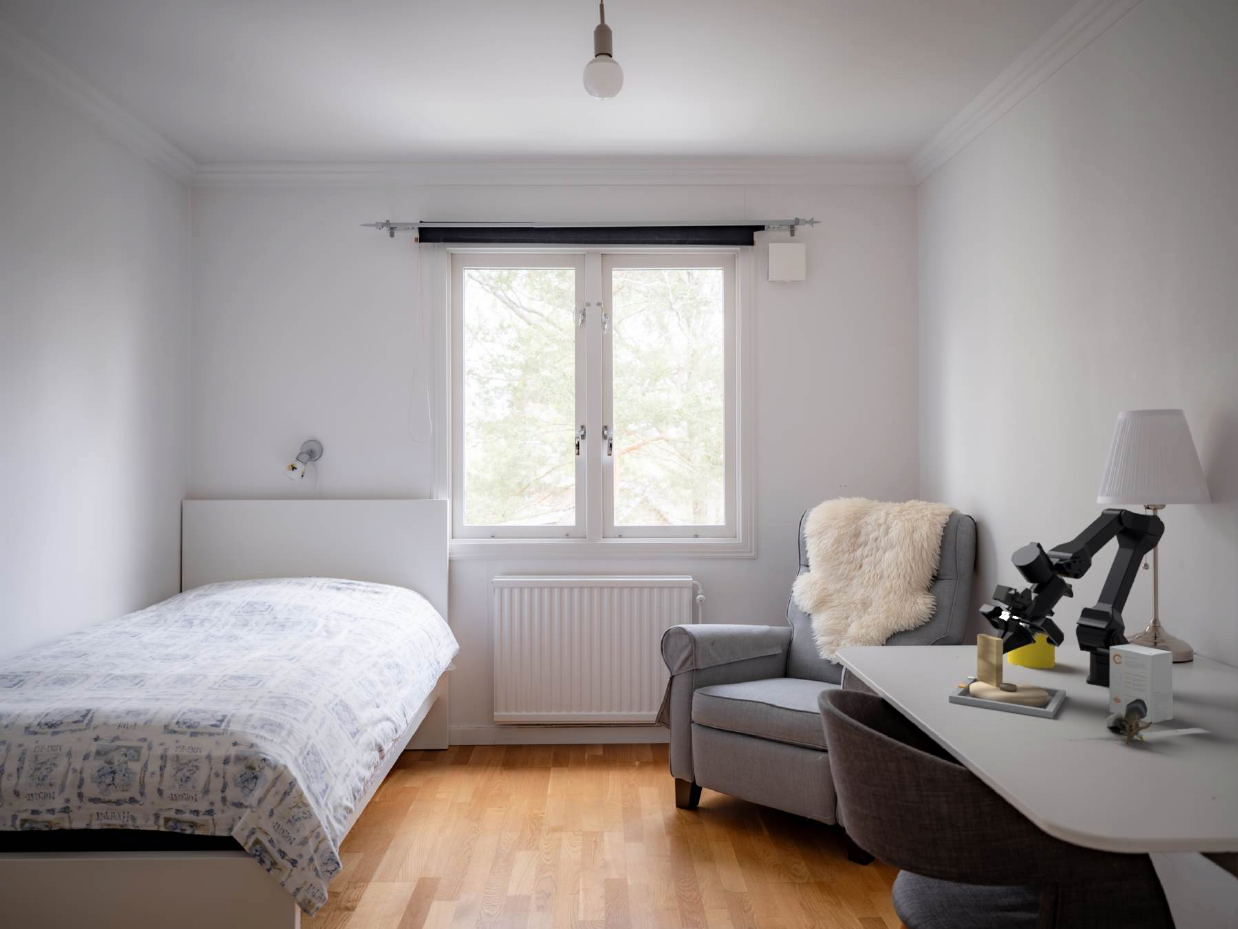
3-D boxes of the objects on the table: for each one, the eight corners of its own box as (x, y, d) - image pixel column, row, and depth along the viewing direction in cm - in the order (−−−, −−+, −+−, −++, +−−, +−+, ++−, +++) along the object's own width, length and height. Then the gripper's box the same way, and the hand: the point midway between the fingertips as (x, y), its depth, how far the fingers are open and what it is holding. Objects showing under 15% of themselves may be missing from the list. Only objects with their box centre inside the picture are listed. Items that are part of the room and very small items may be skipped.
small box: (1173, 723, 154) (1173, 651, 154) (1151, 728, 151) (1152, 655, 151) (1129, 711, 161) (1130, 643, 161) (1108, 715, 158) (1108, 646, 158)
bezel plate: (970, 685, 179) (970, 675, 179) (1065, 700, 168) (1065, 688, 168) (948, 706, 164) (948, 694, 164) (1052, 722, 153) (1052, 710, 153)
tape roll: (1036, 670, 192) (1037, 629, 192) (998, 661, 201) (998, 621, 201) (1064, 665, 197) (1064, 625, 197) (1025, 656, 206) (1025, 618, 206)
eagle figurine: (1167, 743, 139) (1158, 718, 147) (1141, 706, 140) (1133, 683, 148) (1121, 760, 143) (1115, 735, 151) (1096, 724, 143) (1091, 701, 151)
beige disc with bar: (1065, 705, 161) (1065, 647, 161) (1003, 711, 157) (1004, 652, 157) (1008, 685, 176) (1009, 632, 176) (951, 690, 172) (951, 635, 172)
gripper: (986, 565, 181) (941, 619, 179) (1052, 577, 163) (1003, 637, 160) (1017, 601, 183) (973, 654, 181) (1085, 616, 165) (1038, 676, 163)
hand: (995, 654), depth 171 cm, fingers closed, pressing on beige disc with bar
